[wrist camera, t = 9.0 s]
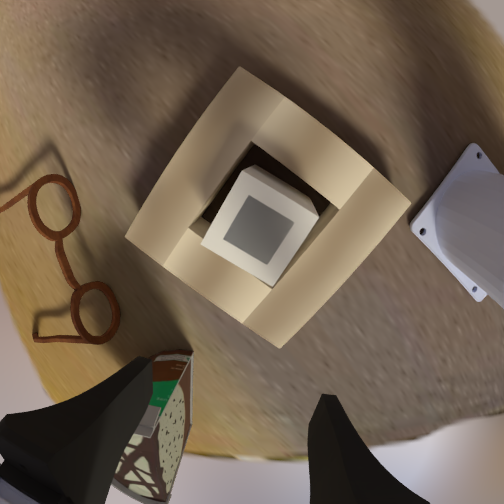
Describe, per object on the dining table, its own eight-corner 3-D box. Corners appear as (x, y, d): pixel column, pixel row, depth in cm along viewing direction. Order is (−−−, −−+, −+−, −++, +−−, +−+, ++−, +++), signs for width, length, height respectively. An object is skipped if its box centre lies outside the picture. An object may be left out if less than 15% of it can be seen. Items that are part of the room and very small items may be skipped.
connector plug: (309, 197, 20) (319, 217, 14) (276, 248, 21) (272, 286, 15) (255, 164, 20) (242, 170, 14) (223, 217, 21) (200, 244, 15)
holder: (394, 195, 19) (411, 203, 16) (281, 325, 23) (279, 348, 20) (246, 77, 18) (239, 66, 15) (144, 225, 21) (124, 236, 19)
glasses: (129, 321, 25) (101, 355, 20) (36, 335, 27) (9, 360, 22) (73, 168, 21) (30, 176, 16) (-11, 218, 24) (-46, 231, 19)
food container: (122, 320, 24) (57, 398, 15) (194, 336, 24) (149, 431, 14) (135, 417, 28) (98, 490, 19) (192, 432, 28) (165, 513, 18)
